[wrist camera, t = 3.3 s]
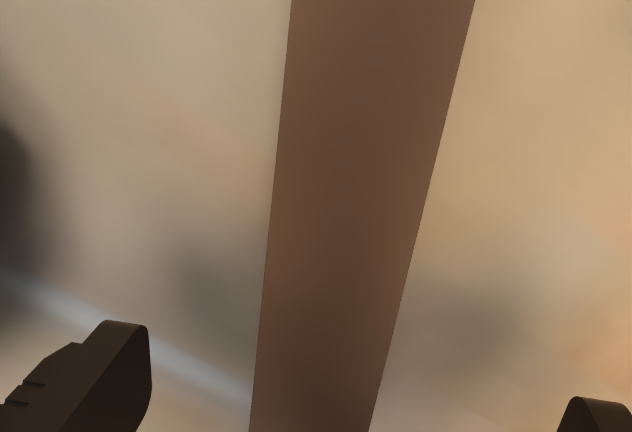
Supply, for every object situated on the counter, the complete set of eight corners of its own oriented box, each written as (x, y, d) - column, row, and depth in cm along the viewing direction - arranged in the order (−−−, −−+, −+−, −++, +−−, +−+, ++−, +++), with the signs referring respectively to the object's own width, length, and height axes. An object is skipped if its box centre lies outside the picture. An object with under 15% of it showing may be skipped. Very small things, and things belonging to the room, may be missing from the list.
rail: (258, 504, 21) (229, 628, 17) (360, -328, 10) (347, -568, 6) (327, 517, 20) (315, 646, 16) (509, -312, 10) (610, -546, 5)
